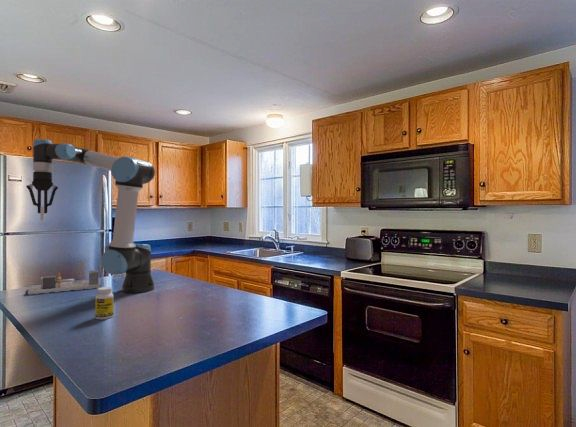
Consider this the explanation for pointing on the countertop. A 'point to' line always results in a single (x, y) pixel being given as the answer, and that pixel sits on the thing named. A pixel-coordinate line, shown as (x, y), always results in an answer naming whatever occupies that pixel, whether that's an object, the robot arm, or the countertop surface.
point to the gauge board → (69, 285)
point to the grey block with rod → (51, 281)
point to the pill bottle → (104, 303)
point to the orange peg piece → (59, 278)
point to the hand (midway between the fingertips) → (42, 220)
